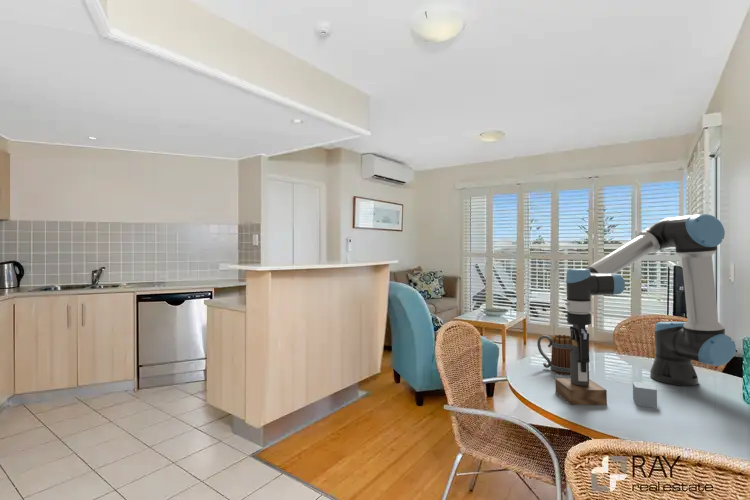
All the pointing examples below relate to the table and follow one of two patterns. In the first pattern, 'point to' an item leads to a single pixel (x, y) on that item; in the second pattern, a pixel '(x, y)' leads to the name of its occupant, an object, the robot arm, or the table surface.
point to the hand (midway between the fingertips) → (579, 377)
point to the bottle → (576, 366)
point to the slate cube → (645, 394)
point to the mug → (558, 354)
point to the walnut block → (581, 392)
